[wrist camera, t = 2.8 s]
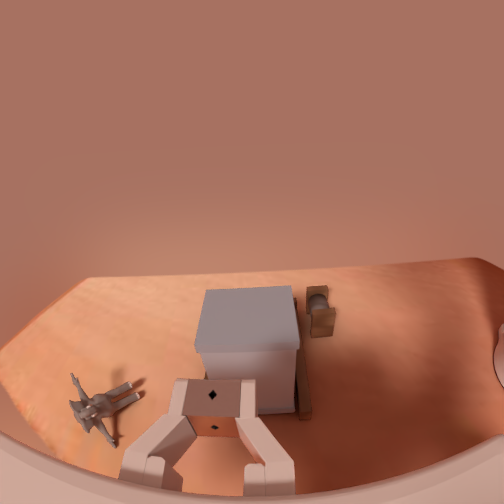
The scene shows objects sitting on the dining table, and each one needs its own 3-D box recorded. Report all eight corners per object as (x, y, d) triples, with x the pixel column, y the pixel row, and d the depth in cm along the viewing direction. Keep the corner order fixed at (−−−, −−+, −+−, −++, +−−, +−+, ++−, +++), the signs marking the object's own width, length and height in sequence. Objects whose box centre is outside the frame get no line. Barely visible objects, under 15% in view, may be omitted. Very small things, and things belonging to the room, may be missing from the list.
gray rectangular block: (289, 362, 34) (291, 285, 28) (294, 412, 28) (299, 341, 22) (223, 365, 35) (206, 289, 29) (218, 414, 28) (194, 344, 22)
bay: (324, 308, 43) (327, 285, 41) (350, 413, 27) (358, 394, 25) (218, 314, 44) (213, 291, 42) (203, 422, 28) (194, 403, 26)
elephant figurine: (165, 421, 28) (105, 457, 20) (146, 426, 31) (94, 456, 23) (121, 348, 30) (56, 373, 23) (107, 362, 33) (52, 384, 26)
